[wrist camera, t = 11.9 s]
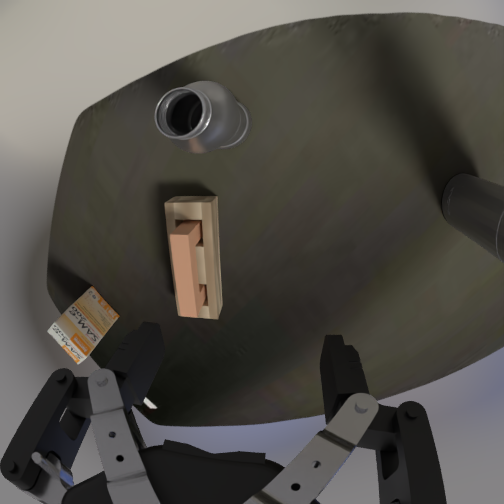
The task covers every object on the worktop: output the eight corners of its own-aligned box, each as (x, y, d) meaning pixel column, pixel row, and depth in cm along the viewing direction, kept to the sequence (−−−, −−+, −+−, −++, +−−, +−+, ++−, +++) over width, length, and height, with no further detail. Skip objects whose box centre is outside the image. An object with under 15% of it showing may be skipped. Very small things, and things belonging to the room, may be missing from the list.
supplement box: (120, 315, 49) (88, 358, 37) (109, 324, 51) (78, 365, 39) (92, 283, 47) (53, 322, 35) (82, 294, 49) (46, 332, 37)
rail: (217, 196, 39) (210, 202, 35) (222, 304, 46) (217, 319, 42) (174, 196, 39) (164, 202, 35) (185, 301, 46) (178, 315, 43)
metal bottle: (196, 130, 35) (119, 130, 17) (226, 92, 33) (173, 51, 14) (232, 158, 36) (186, 180, 18) (264, 119, 34) (248, 99, 16)
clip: (203, 217, 39) (188, 234, 33) (208, 290, 44) (197, 317, 37) (187, 217, 39) (169, 234, 33) (194, 290, 44) (180, 316, 38)
